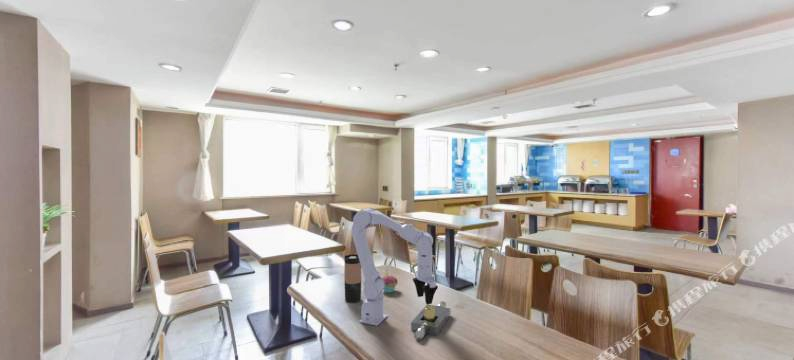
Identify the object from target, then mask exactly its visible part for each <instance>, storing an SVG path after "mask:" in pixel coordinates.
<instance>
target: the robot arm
mask: <svg viewBox="0 0 794 360" xmlns="http://www.w3.org/2000/svg"><path fill="white" fill-rule="evenodd" d="M352 221H353V222H352V227H351V231H350V232H351V233H350V234H351V237H352V240H353V241H352V242H353V244H354V247H355V250H356V253H357V254H356V255H358V257H359V260H360V264H361V271H362V273H363V278H362V279H363V280H362V284H363V295H364V298H365V299H364V302H363V303H362V304H361V308H360V314H361V315H360V318H361V319H360V320H359V321H358V322H359V323H362V324H366V325H367V324H368V325H372V326H378V325H379V324H381V323H382V322H383V321H384V320H385V319H386V318H387V317H388V314H384V293H383V291H384V287H385V282H384V280H383V279H382V278H383V277H382V276H381V274H380V272H379V271H378V270H377V268H376V265H375V262H374V257H373V254H372V252H371V251H372V250H371V248H370V244H369V242H368V238H367V235H366V232H367V231H368V229H369V228H370V226H371V225H382V226H384V227H386V228H388V229H390V230H393V231H394V232H397V233H398V235H399V237H400V238H401V239H403V240H405V241H408V242H409V243H410V244H413V245H416V248H417V262H416V263H417V270H415V271H414V277H413V278H412V282H413V284H414V287H415V290H416V294H417V297H418V298H420V297H421V298H423V297H424V298H425V299H424V300H425V304H426V305H427V304H428V305H432V303H433V301H434V296H435V294H436V292H437V290H438V287H439V286H438V285H437V281H435V279H434V278H436V275H434V274H433V244H434V238H433V236H432V235H431V234H430V233H429V232H427V231H425V232H424V230H423V229H421V230H419V229H418V228H416V227H414V225H413V224H412V223H409V224H408V223H405V224H402V223H400V222H398V221H396V220H394V219H393V218H391V217H390V216H388V215H386V214H385V213H383V212H381V211H380V210H377V209H374V208H372V207H367V208H364V209H361V210H359V211H357V212H356V214H355V215H354V216H353V218H352Z"/></svg>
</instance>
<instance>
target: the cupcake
mask: <svg viewBox="0 0 794 360" xmlns="http://www.w3.org/2000/svg"><path fill="white" fill-rule="evenodd" d="M388 274H389V272H388V269H387V268H385V275H386V276H383V277H381V278H382V279H383V280H384V282H385V287H384V289H383V291H384V292H385V293H388V294H389V293H393V292H394V291H395V288H396V286H397V285H398V279H397V278H396V277H394V276H393V275H388Z"/></svg>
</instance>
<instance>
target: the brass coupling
mask: <svg viewBox="0 0 794 360" xmlns="http://www.w3.org/2000/svg"><path fill="white" fill-rule="evenodd" d="M423 308H424V321H428V322H433V323H434V322H435V307H433V306H426V305H425V306H424V307H423Z"/></svg>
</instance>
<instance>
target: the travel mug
mask: <svg viewBox="0 0 794 360" xmlns="http://www.w3.org/2000/svg"><path fill="white" fill-rule="evenodd" d="M343 275H344V278H343V279H344V282H343V283H344V299H345V300H344V301H345V302H346V303H350V304H354V303H359V302H360V301H361V300H362V267H361V264H360V260H359V257H358V254H354V253H353V254H348V255H344V274H343Z"/></svg>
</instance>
